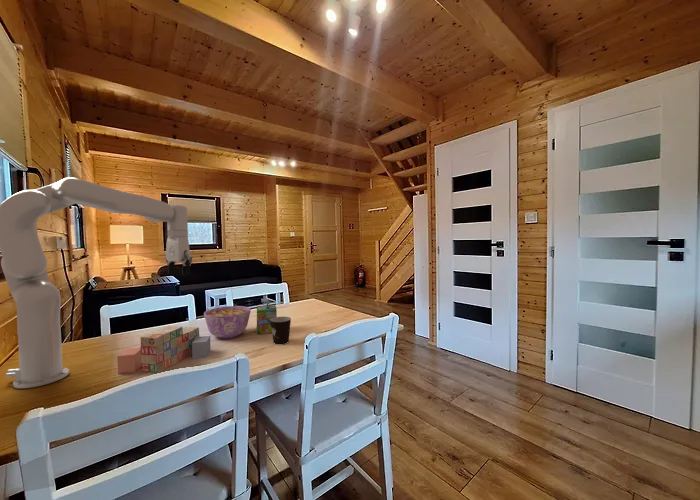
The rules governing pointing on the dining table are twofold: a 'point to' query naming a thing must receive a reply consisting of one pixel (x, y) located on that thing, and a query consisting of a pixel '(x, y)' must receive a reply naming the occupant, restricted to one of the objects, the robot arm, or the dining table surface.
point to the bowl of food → (227, 320)
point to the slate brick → (201, 347)
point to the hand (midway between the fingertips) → (179, 274)
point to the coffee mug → (280, 329)
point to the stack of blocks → (166, 347)
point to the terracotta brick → (129, 360)
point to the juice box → (265, 318)
